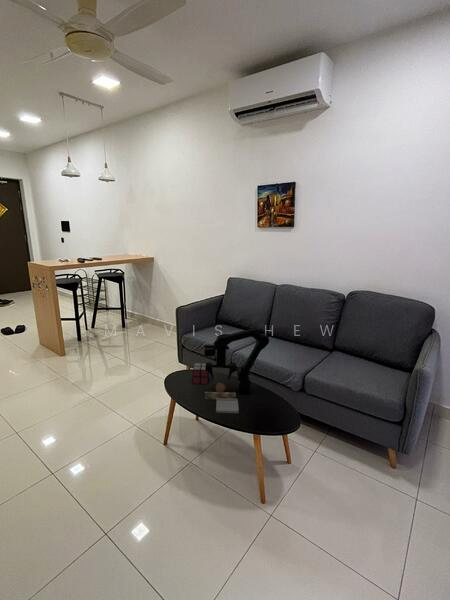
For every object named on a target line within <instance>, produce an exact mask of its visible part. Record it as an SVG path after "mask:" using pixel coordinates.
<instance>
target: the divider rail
mask: <svg viewBox="0 0 450 600" xmlns="http://www.w3.org/2000/svg"><path fill="white" fill-rule="evenodd" d="M236 395H237V394H236V392H227V391H226V392H225V391H224V392H217V391H204V399H205V400H217V398H226V399H237V398H236Z"/></svg>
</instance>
